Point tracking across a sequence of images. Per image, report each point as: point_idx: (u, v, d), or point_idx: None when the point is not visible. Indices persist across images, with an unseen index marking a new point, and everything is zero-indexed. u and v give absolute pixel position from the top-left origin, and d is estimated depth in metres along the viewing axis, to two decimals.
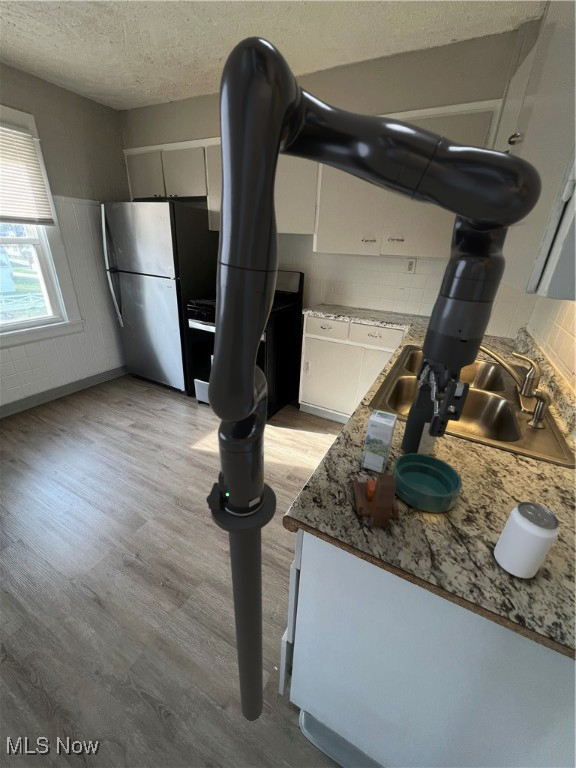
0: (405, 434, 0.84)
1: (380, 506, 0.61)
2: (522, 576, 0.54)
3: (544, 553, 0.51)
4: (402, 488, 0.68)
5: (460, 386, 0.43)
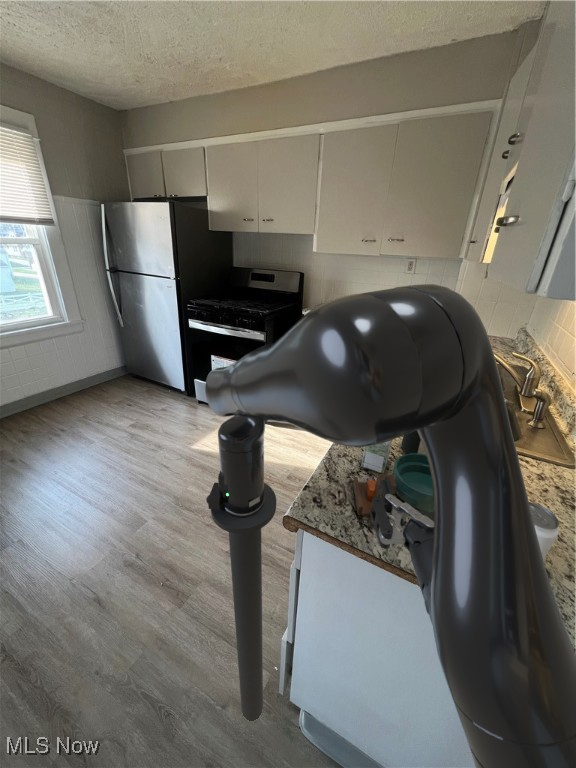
0: None
1: None
2: None
3: (544, 553, 0.51)
4: (402, 488, 0.68)
5: (381, 538, 0.37)
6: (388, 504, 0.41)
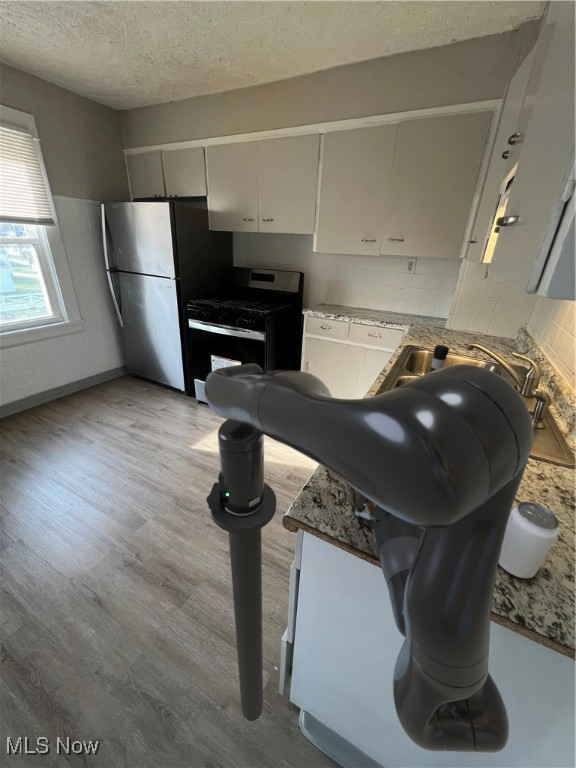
0: None
1: None
2: (522, 576, 0.54)
3: (544, 553, 0.51)
4: None
5: None
6: None
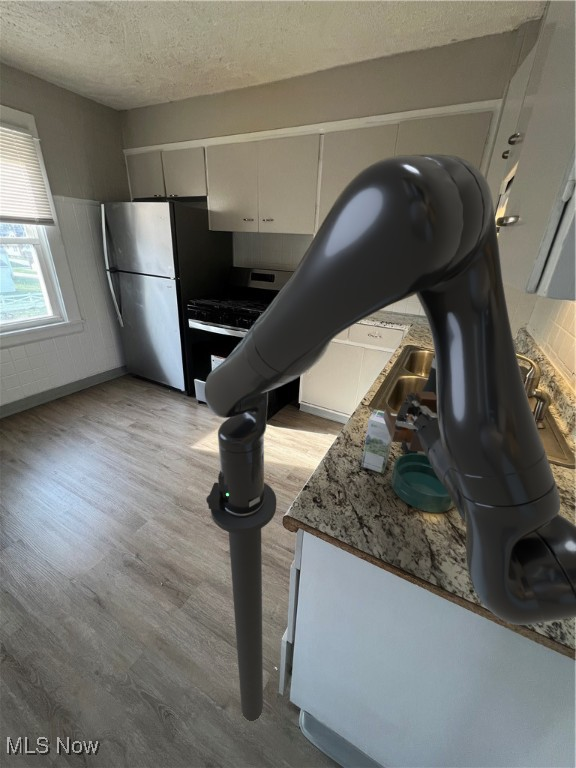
0: None
1: None
2: None
3: None
4: (402, 488, 0.68)
5: None
6: (414, 407, 0.54)
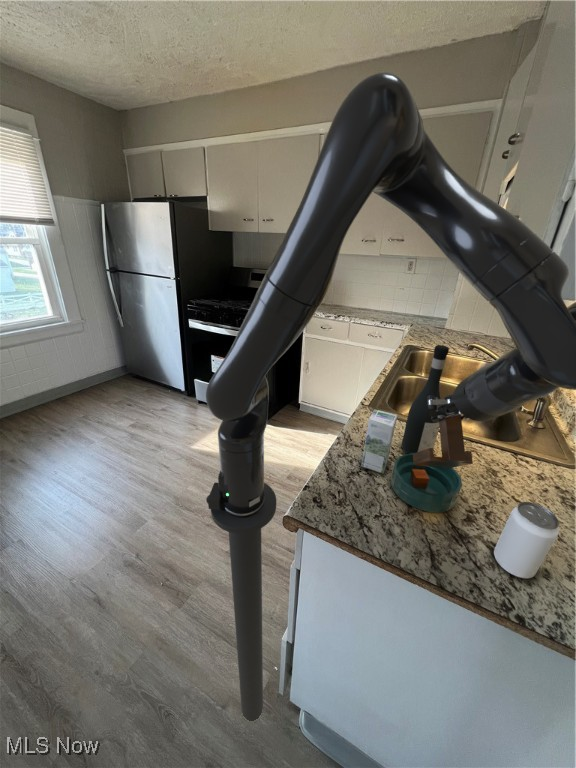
0: (405, 434, 0.84)
1: (451, 431, 0.59)
2: (522, 576, 0.54)
3: (544, 553, 0.51)
4: (402, 488, 0.68)
5: (428, 402, 0.56)
6: (440, 407, 0.60)
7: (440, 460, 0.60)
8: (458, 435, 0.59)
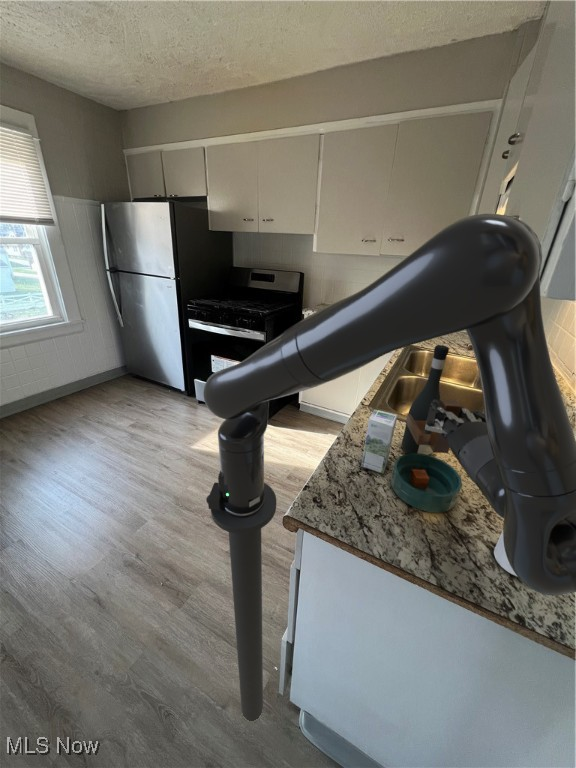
0: (405, 434, 0.84)
1: None
2: None
3: None
4: (402, 488, 0.68)
5: (425, 426, 0.56)
6: (440, 413, 0.60)
7: (426, 444, 0.67)
8: None
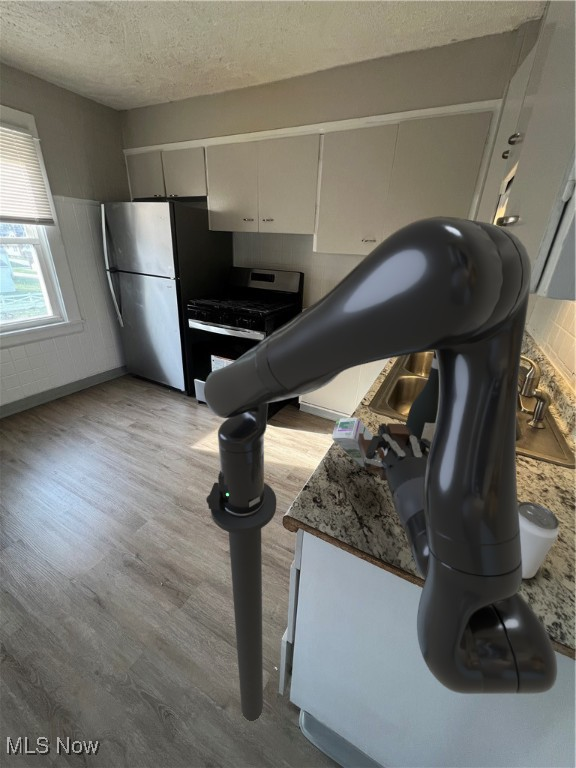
0: None
1: None
2: (522, 576, 0.54)
3: (544, 553, 0.51)
4: None
5: None
6: (385, 441, 0.54)
7: (375, 470, 0.61)
8: None
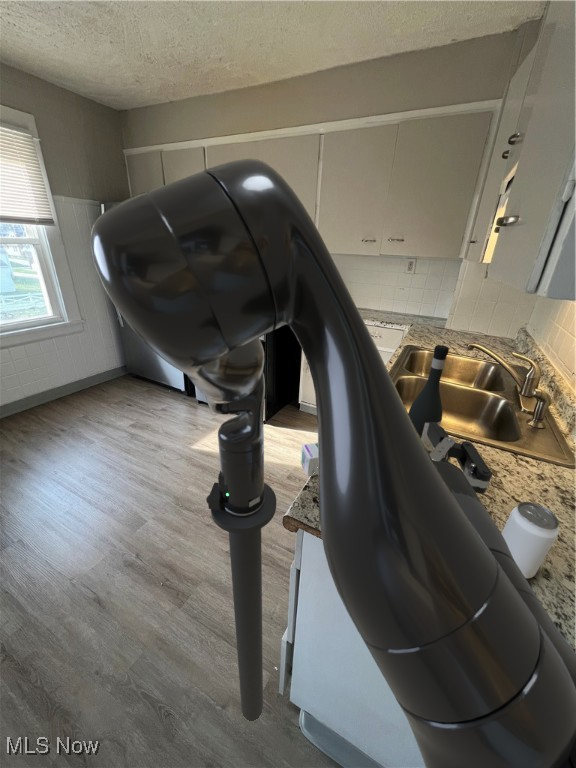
0: None
1: None
2: None
3: (544, 553, 0.51)
4: None
5: None
6: None
7: None
8: None
